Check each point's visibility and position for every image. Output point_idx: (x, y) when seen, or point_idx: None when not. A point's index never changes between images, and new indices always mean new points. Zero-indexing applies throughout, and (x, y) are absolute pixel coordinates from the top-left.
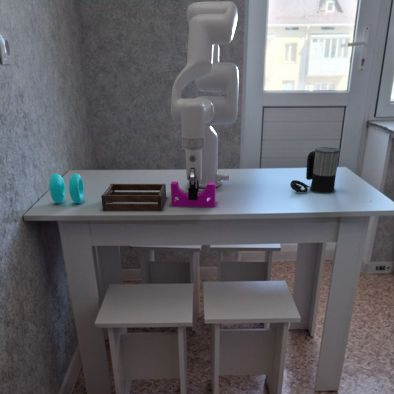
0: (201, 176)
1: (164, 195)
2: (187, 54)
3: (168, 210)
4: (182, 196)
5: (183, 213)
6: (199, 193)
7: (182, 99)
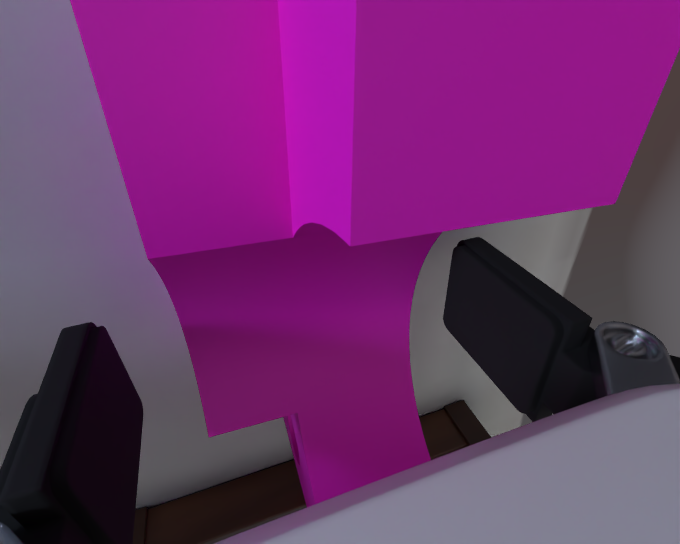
0: (656, 479)
1: (208, 529)
2: None
3: (456, 373)
4: (409, 394)
5: (539, 270)
6: (255, 279)
7: None
